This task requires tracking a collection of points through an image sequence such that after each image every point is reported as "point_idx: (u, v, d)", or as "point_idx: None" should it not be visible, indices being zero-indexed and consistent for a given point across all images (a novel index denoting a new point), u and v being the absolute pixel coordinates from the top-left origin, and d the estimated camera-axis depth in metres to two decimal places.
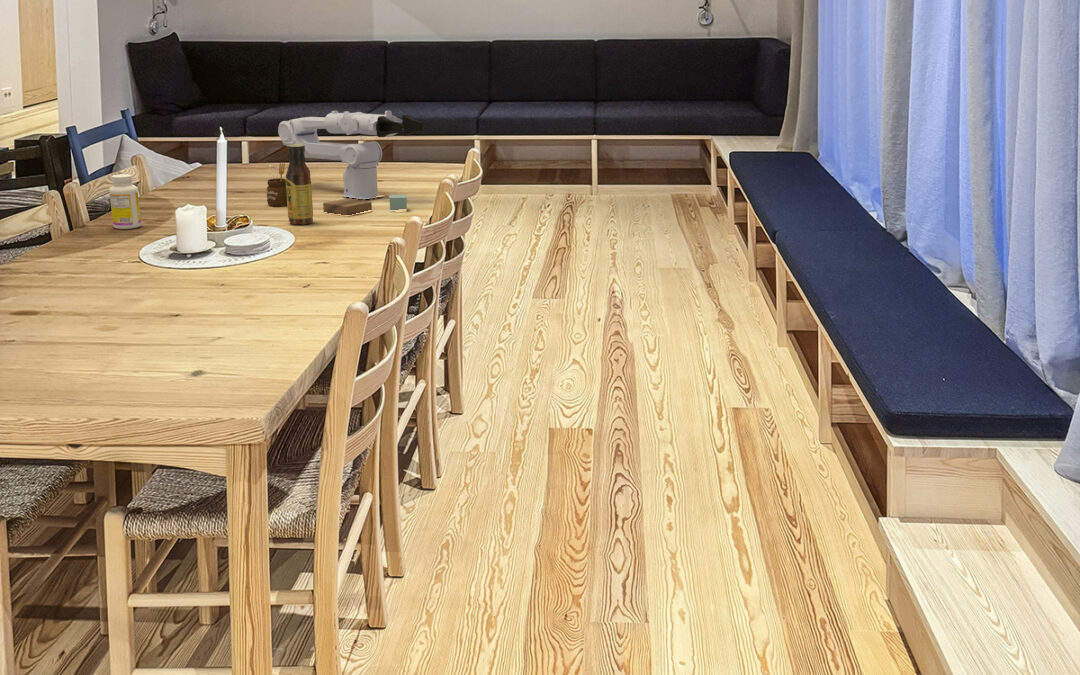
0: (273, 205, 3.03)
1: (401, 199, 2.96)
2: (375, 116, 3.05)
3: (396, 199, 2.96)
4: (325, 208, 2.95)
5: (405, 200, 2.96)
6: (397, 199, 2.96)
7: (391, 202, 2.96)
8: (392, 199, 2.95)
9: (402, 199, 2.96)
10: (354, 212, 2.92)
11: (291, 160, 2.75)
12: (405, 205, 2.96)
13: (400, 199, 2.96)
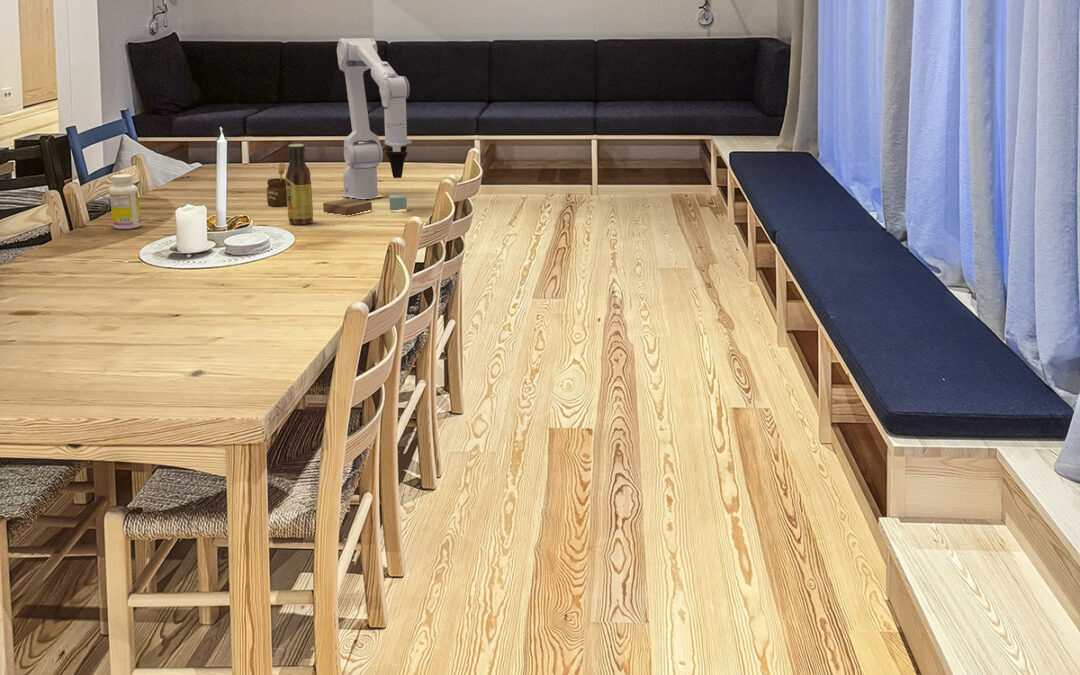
0: (273, 205, 3.03)
1: (401, 199, 2.96)
2: (405, 128, 2.91)
3: (396, 199, 2.96)
4: (325, 208, 2.95)
5: (405, 200, 2.96)
6: (397, 199, 2.96)
7: (391, 202, 2.96)
8: (392, 199, 2.95)
9: (402, 199, 2.96)
10: (354, 212, 2.92)
11: (291, 160, 2.75)
12: (405, 205, 2.96)
13: (400, 199, 2.96)
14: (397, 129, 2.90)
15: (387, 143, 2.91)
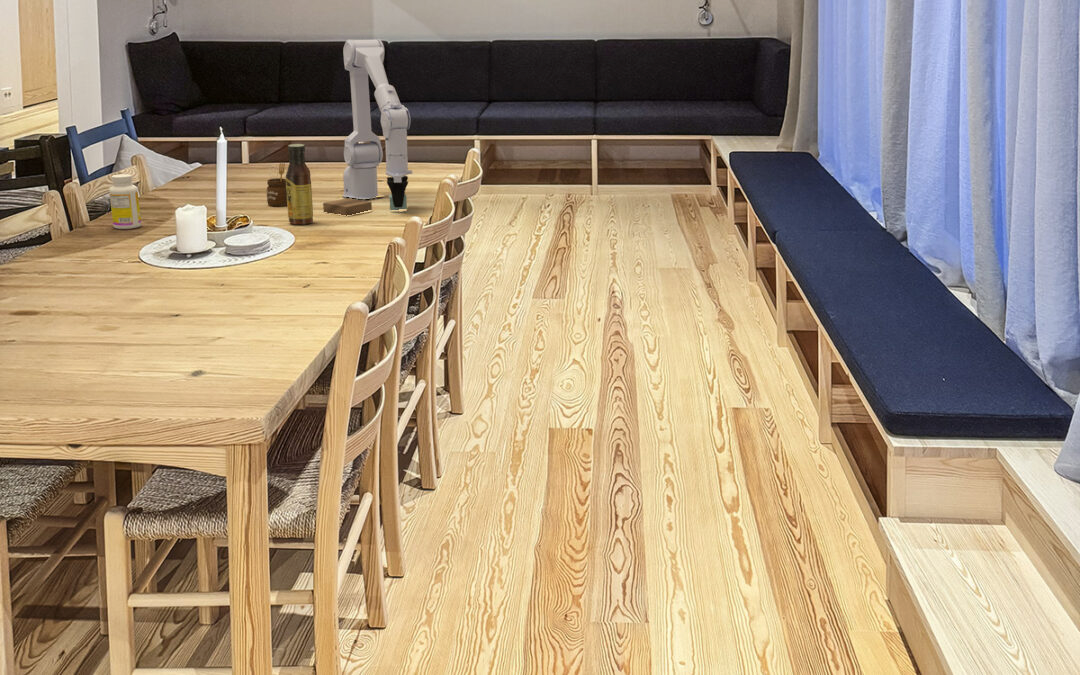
0: (273, 205, 3.03)
1: None
2: (406, 159, 2.94)
3: None
4: (325, 208, 2.95)
5: (405, 199, 2.96)
6: None
7: (391, 202, 2.96)
8: (392, 199, 2.95)
9: None
10: (353, 212, 2.92)
11: (291, 160, 2.75)
12: (405, 204, 2.96)
13: None
14: (398, 159, 2.92)
15: (388, 174, 2.93)
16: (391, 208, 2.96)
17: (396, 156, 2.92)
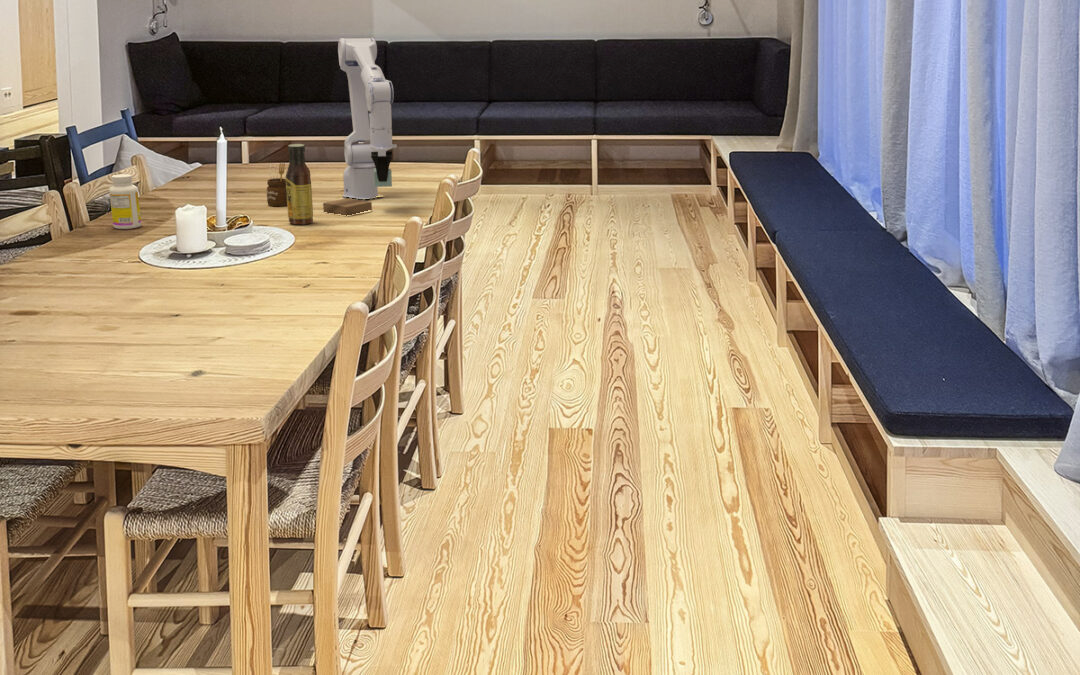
0: (273, 205, 3.03)
1: None
2: (390, 132, 2.91)
3: None
4: (325, 208, 2.95)
5: (390, 174, 2.93)
6: None
7: (376, 176, 2.93)
8: None
9: None
10: (353, 212, 2.92)
11: (291, 160, 2.75)
12: (390, 179, 2.94)
13: None
14: (383, 133, 2.90)
15: (372, 147, 2.90)
16: (376, 183, 2.93)
17: (380, 130, 2.89)
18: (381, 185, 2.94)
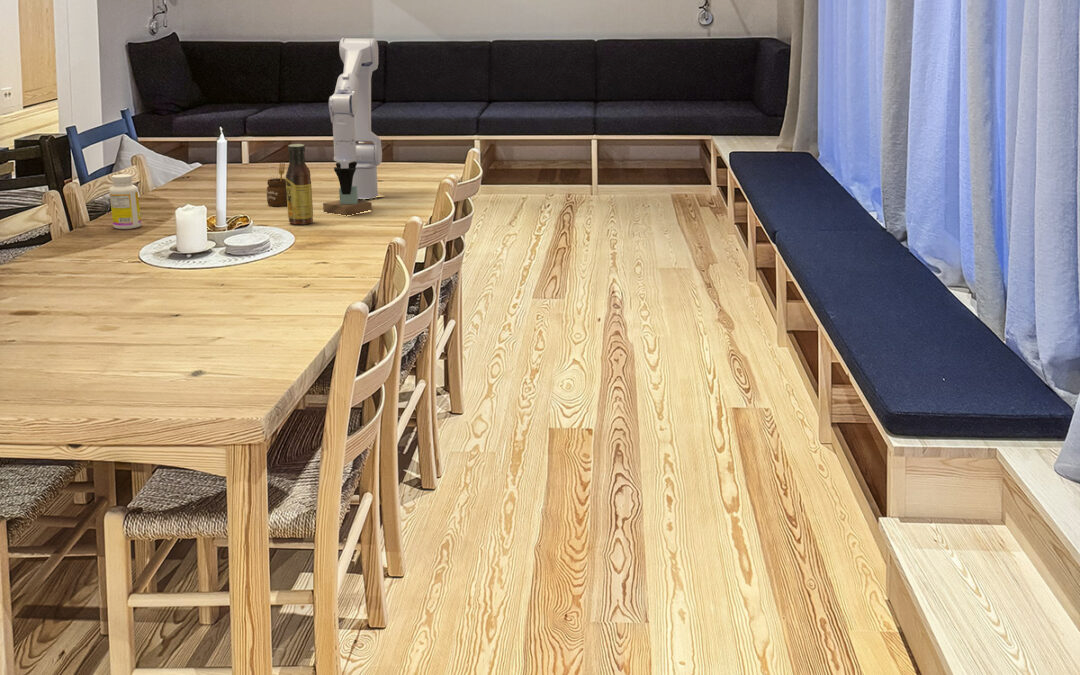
0: (273, 205, 3.03)
1: (351, 190, 2.93)
2: (354, 144, 2.90)
3: None
4: (325, 209, 2.95)
5: (355, 191, 2.93)
6: None
7: (341, 193, 2.92)
8: None
9: (352, 190, 2.93)
10: (353, 212, 2.92)
11: (291, 160, 2.75)
12: (355, 196, 2.93)
13: None
14: (346, 145, 2.89)
15: (336, 159, 2.89)
16: (341, 200, 2.93)
17: (343, 142, 2.88)
18: (346, 202, 2.93)
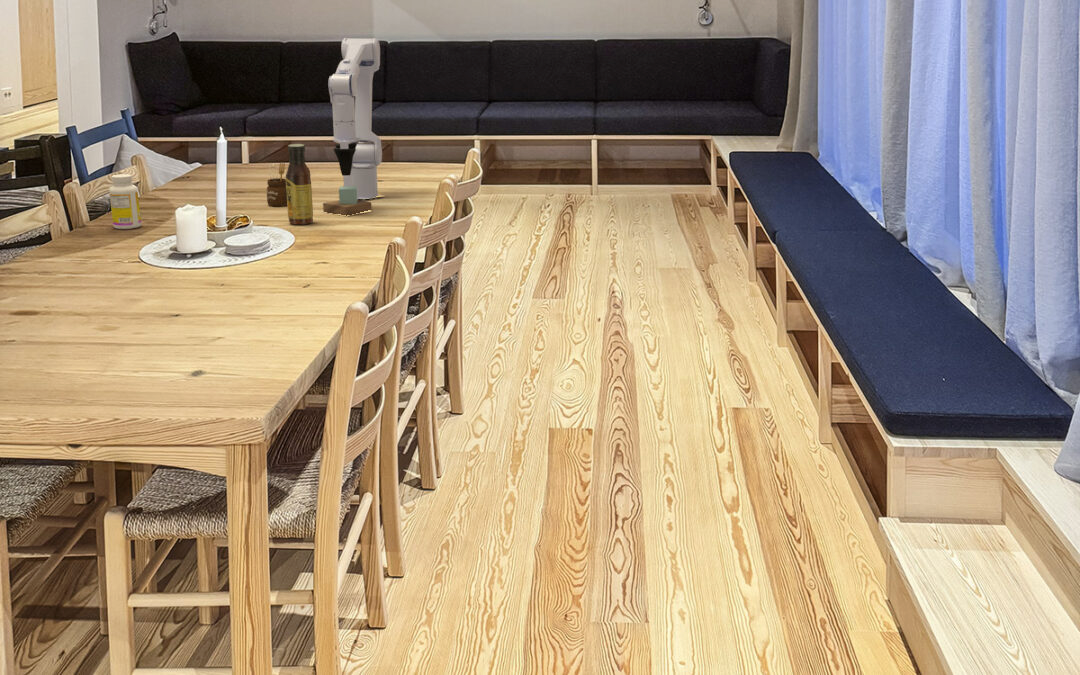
0: (273, 205, 3.03)
1: (350, 190, 2.93)
2: (353, 125, 2.89)
3: (345, 190, 2.92)
4: (325, 209, 2.95)
5: (355, 191, 2.93)
6: (346, 190, 2.93)
7: (340, 193, 2.93)
8: (341, 190, 2.92)
9: (352, 190, 2.93)
10: (353, 212, 2.92)
11: (291, 160, 2.75)
12: (355, 197, 2.93)
13: (349, 190, 2.93)
14: (346, 126, 2.87)
15: (335, 140, 2.88)
16: (340, 200, 2.93)
17: (343, 122, 2.87)
18: (346, 203, 2.93)
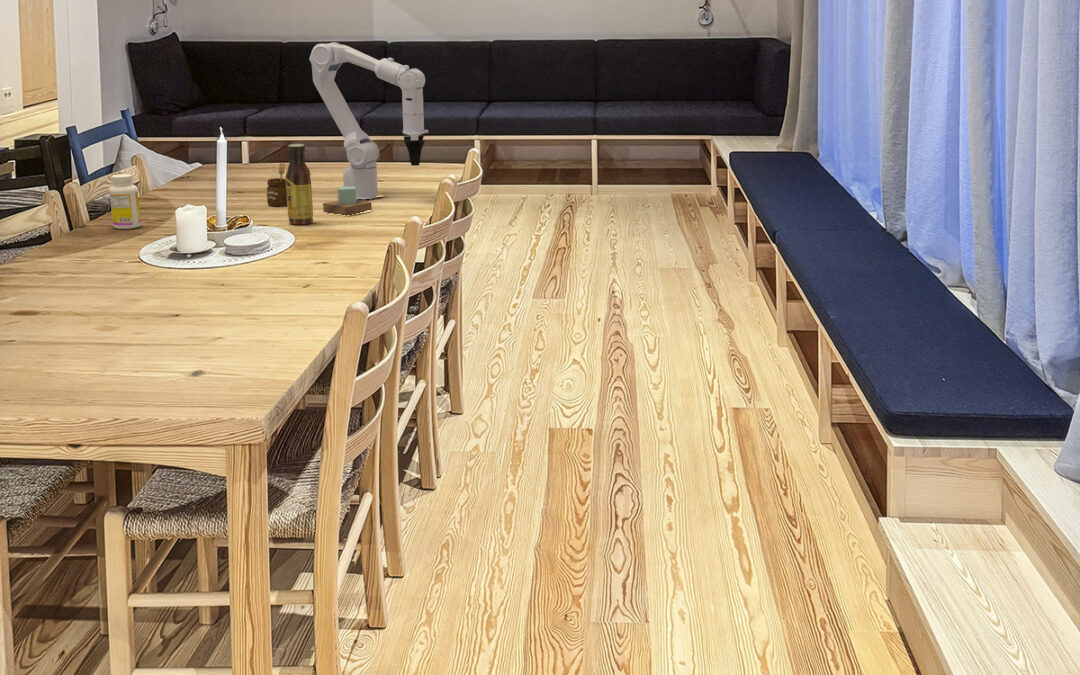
0: (273, 205, 3.03)
1: (350, 190, 2.93)
2: (422, 118, 3.06)
3: (345, 191, 2.92)
4: (325, 209, 2.95)
5: (354, 191, 2.93)
6: (346, 191, 2.92)
7: (340, 194, 2.92)
8: (341, 191, 2.92)
9: (351, 190, 2.93)
10: (353, 212, 2.92)
11: (291, 160, 2.75)
12: (354, 196, 2.93)
13: (349, 190, 2.92)
14: (415, 119, 3.04)
15: (405, 132, 3.05)
16: (340, 200, 2.93)
17: (413, 115, 3.04)
18: (345, 203, 2.93)
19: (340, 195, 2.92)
